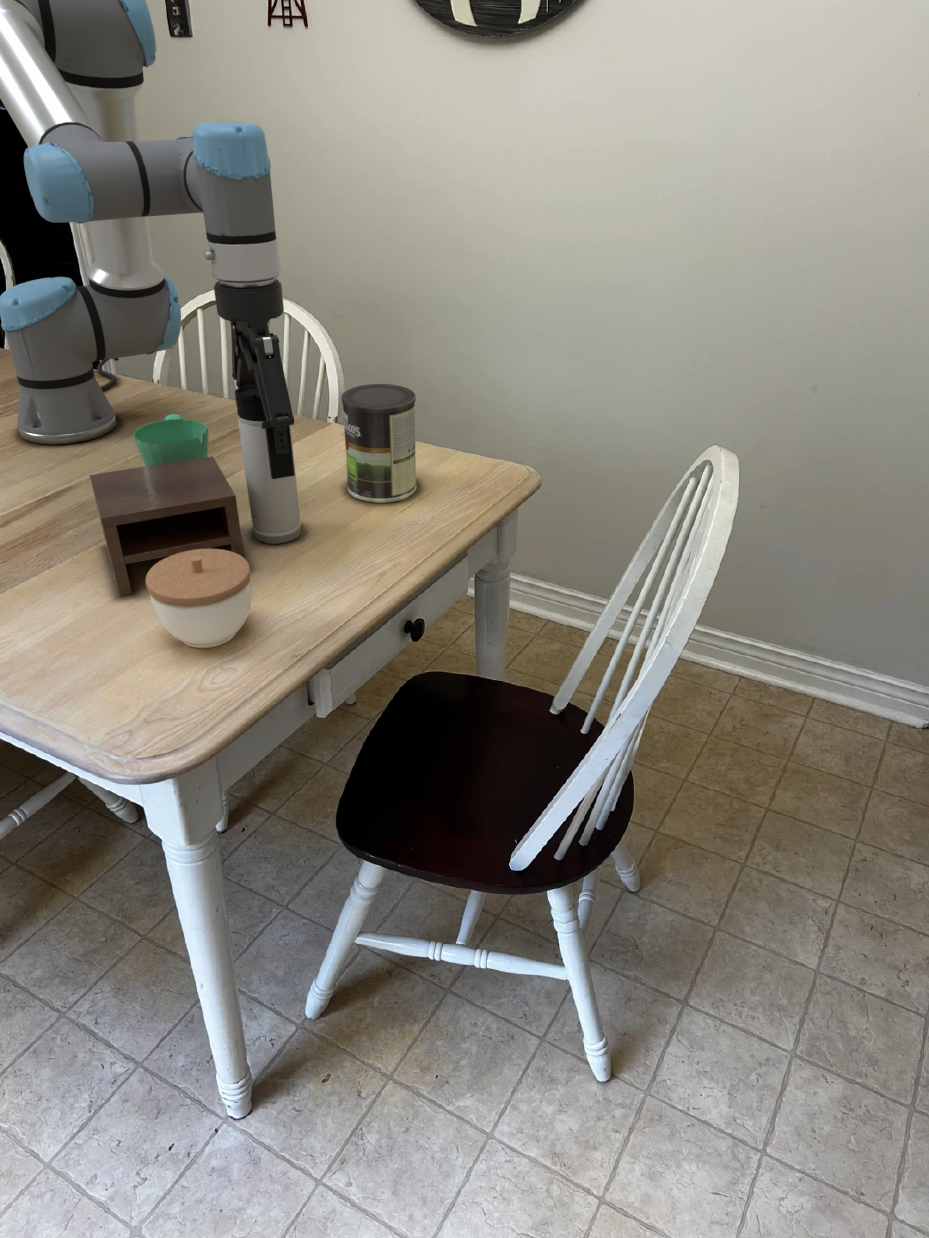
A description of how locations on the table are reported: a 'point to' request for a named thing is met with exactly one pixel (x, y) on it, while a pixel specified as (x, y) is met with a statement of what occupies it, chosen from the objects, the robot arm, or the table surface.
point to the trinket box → (201, 595)
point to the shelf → (165, 512)
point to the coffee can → (380, 442)
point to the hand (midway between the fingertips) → (268, 457)
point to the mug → (171, 440)
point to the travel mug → (265, 476)
